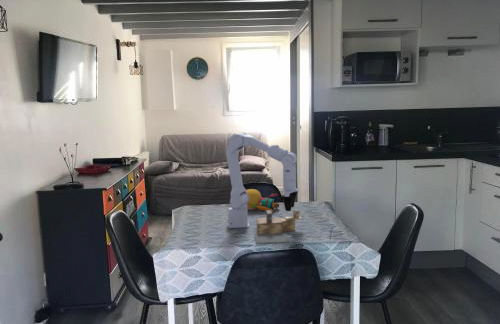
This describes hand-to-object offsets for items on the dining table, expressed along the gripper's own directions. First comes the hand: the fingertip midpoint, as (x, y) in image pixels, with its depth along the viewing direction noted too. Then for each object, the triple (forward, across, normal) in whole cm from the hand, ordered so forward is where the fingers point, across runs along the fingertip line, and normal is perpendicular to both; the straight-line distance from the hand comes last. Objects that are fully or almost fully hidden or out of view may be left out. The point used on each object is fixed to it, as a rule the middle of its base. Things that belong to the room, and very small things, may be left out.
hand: (289, 208), depth 201 cm
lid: (+6, -3, +9) cm, 11 cm away
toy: (+10, +36, +25) cm, 45 cm away
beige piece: (+5, 0, -1) cm, 5 cm away
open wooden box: (+10, -2, +6) cm, 12 cm away
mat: (+10, -14, +5) cm, 18 cm away
